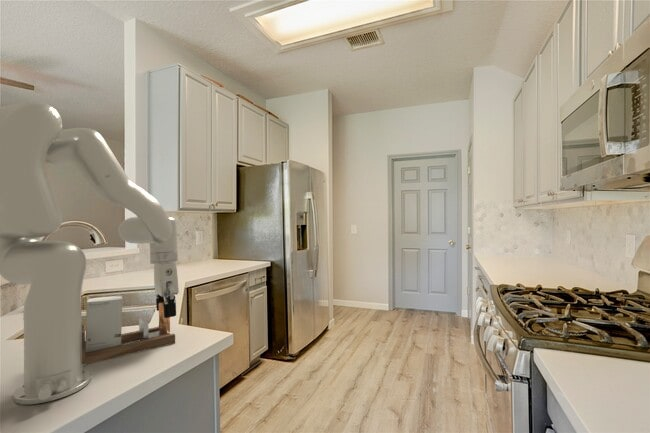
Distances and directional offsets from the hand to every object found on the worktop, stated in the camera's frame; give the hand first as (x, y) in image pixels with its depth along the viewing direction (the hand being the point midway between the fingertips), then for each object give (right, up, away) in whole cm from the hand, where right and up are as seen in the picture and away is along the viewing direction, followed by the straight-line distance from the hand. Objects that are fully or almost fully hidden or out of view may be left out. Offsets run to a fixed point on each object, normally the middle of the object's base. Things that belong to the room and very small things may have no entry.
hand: (166, 313), depth 100 cm
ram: (-2, -8, -2) cm, 8 cm away
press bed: (-8, -8, -7) cm, 13 cm away
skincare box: (-12, -8, -10) cm, 18 cm away
